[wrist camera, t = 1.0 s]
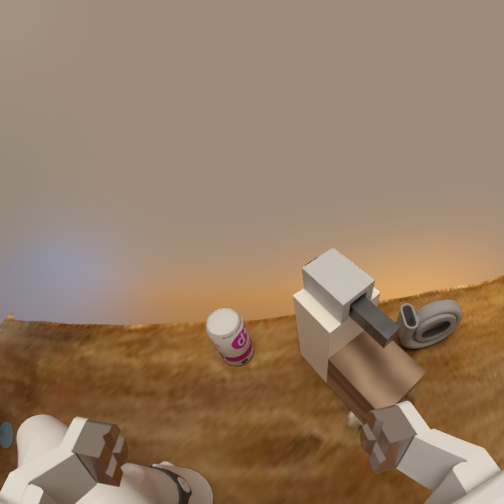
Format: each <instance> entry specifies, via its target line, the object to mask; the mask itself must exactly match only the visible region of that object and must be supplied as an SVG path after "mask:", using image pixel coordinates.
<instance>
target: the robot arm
mask: <svg viewBox="0 0 504 504" xmlns="http://www.w3.org/2000/svg"><path fill="white" fill-rule="evenodd" d="M365 420H366V422H367V423H366V424H365V425H364V426H363V427H362V430H361V433H360V437H361V444H362V447H363V449H364V451H365V452H367V453H369V454H370V457H369V463H370V465H371V467H372V469H373V471H374V473H375V474H376V473H379V472H383V471H386V470H389V469H392V468H395V467H397V469H398V470H400V471H401V472H403V473H404V474H406V475H407V476H409V477H411V478H412V479H414V480H415V481H417V482H418V483H420V484H422V485H423V486H425V487H427V488H428V489H430V490H431V491H433V493H432V494H431V495H430V496H429V497H428V498H427V499H426V500H425V502H424V504H504V469H503V470H502V471H501V470H500V469H499V467H498V466H497V465H496V463H495V462H494V461H493V459H492V458H491V457H490V455H489V454H488V453H487V452H486V450H485V449H484V448H482V447H479V446H476V445H474V444H471V443H468V442H466V441H463V440H461V439H458V438H455V437H453V436H451V435H448V434H446V433H443V432H441V431H438V430H436V429H431V430H430V428H429V427H428V426H427V424H426V423H425V421H424V420H423V419H422V417H421V416H420V414H419V413H418V412H417V410H416V409H415V408H414V406H413V405H412V404H411V402H409V401H405V402H401V403H398V404H395V405H390V406H387V407H383V408H379V409H376V410H372V411H369V412H368V413H367V414H366V417H365ZM119 434H120V429H119V427H118V425H117V424H112V423H107V422H102V421H96V420H92V419H86V418H82V417H76V418H74V419H73V421H72V423H71V425H70V427H68V426H66V425H65V424H63V423H62V422H61V421H59V420H58V419H56V418H55V417H52V416H49V415H36V416H33V417H31V418H29V419H27V420H26V421H25V422H24V423H23V424H22V425H21V426H20V428H19V430H18V432H17V447H18V468H17V469H16V470H14V471H12V472H11V473H10V474H9V476H8V478H7V480H6V482H5V484H4V486H3V488H2V490H1V492H0V504H212V503H213V493H212V489H211V487H210V485H209V483H208V482H207V480H206V479H205V478H204V477H203V476H202V475H200V474H199V473H198V472H196V471H194V470H191V469H188V468H183V467H178V466H175V465H174V464H172V463H170V462H167V461H164V462H162V463H160V464H153V466H141V465H137V464H133V463H126V461H127V457H128V448H127V443H126V441H125V439H124V438H122V437H121V436H120V435H119Z"/></svg>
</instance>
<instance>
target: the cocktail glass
mask: <svg viewBox="0 0 504 504" xmlns="http://www.w3.org/2000/svg"><path fill="white" fill-rule="evenodd" d="M13 439H14V430H13V427H12V425H11V424H10V423H9V422H7V421H6V422H4V423H2V425H1V426H0V444H1V445H2V447H4V448H9V447H10V446H11V445H12V443H13Z"/></svg>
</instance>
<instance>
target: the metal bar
mask: <svg viewBox="0 0 504 504" xmlns="http://www.w3.org/2000/svg"><path fill="white" fill-rule="evenodd" d="M317 258H318V257H317ZM317 258H315V259H317ZM315 259H314V260H315ZM312 261H313V260H312ZM312 261H310V262H312ZM310 262H309V263H310ZM309 263H307V264H309ZM307 264H306V265H307ZM306 265H305V266H306ZM349 317H351V318H352V319H353V320H354V321H355V322H356V323H357V324H358V325H359V326H360V327H361V328H362V329H363V330H364V331H365V332H367V333H368V334H369V335H370V336H371V337H372V338H373V339H374V340H375V341H376V342H377V343H378V344H379V345H380V346H381V347H382V348H385V347H386V346H387V345H388V344H389V343H391V342H392V341H393V340H394V339H395V338H396V337H397V334H398V332H399V329H400V327H399V326H398V325H397V324H396V323H395V322H394V321H392V320H391V319H390V318H389V317H388V316H387V315H386V314H384V313H383V312H382V311H381V310H380V309H379V308H378V307H376V306H375V305H374V304H373V303H372V302H371V301H369V300H368V299H367V298H366V297H365V296H364V295H363V294H362V295H361V296H360V297H359V298H357V299H356V300H355V301H354V302H352V303H351V304H350V311H349Z"/></svg>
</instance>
